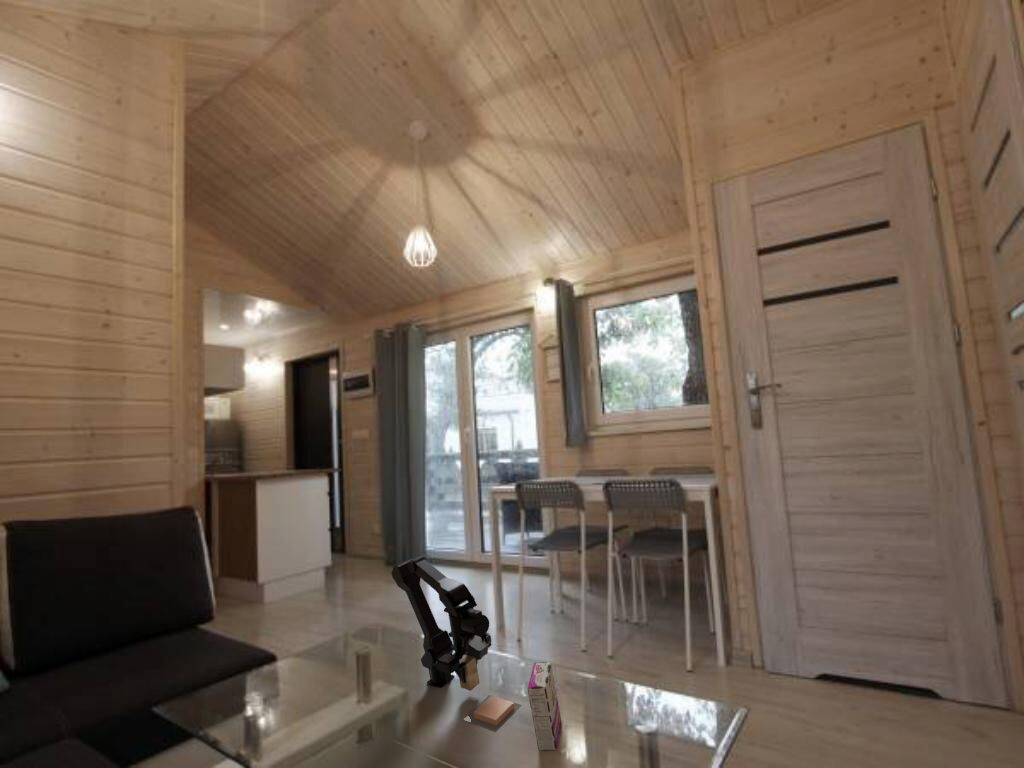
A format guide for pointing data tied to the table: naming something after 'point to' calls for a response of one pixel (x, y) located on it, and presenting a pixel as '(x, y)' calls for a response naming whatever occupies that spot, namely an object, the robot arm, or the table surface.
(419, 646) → the table surface
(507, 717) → the rubber mat
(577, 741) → the table surface
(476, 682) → the oak block
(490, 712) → the terracotta tile
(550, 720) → the candy bar box
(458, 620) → the robot arm
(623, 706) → the table surface
